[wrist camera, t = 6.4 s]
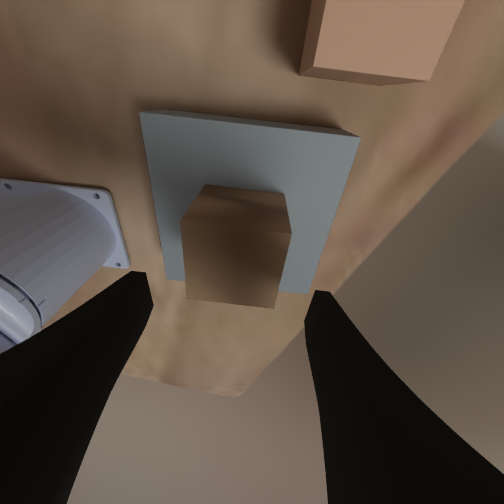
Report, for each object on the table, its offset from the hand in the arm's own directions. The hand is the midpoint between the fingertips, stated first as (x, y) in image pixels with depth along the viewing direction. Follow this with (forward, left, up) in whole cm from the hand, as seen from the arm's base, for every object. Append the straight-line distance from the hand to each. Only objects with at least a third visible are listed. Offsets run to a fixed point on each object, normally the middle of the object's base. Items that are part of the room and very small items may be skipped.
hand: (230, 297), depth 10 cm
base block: (0, 0, -11) cm, 11 cm away
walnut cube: (0, 0, -7) cm, 7 cm away
